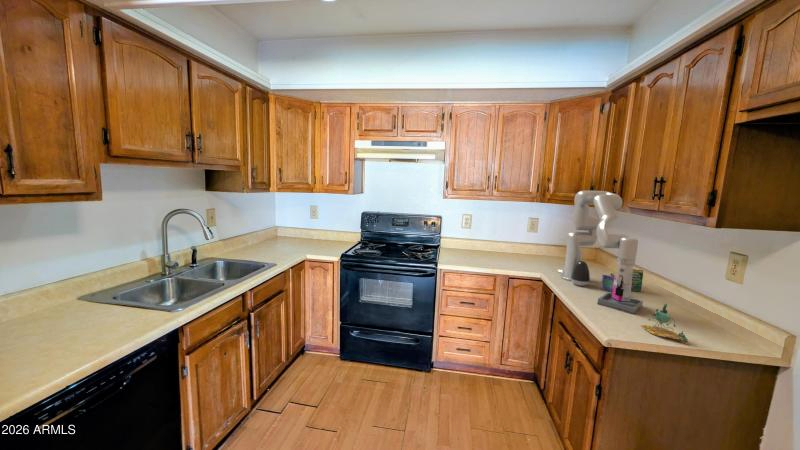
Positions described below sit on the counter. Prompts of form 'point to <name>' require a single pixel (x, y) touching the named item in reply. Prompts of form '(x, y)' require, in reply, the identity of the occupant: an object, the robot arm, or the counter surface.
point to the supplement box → (625, 293)
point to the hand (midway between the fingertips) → (621, 293)
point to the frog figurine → (659, 331)
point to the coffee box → (637, 280)
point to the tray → (620, 303)
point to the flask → (607, 282)
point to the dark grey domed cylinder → (581, 274)
